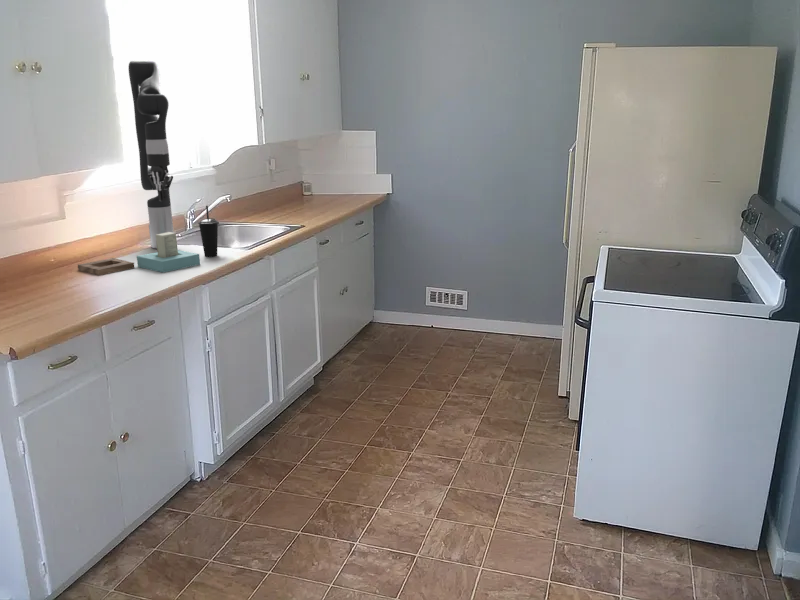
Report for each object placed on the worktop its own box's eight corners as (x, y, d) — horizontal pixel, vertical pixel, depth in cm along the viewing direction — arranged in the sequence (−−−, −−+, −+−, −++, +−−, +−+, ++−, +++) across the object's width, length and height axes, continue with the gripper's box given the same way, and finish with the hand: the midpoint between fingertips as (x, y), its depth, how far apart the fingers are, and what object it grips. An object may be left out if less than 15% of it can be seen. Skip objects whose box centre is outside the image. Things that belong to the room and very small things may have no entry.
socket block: (137, 266, 260) (136, 256, 259) (174, 259, 272) (173, 249, 271) (163, 272, 250) (162, 261, 249) (200, 264, 263) (199, 253, 262)
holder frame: (78, 270, 255) (77, 264, 255) (113, 263, 266) (113, 258, 266) (98, 275, 247) (98, 269, 247) (134, 268, 258) (133, 262, 257)
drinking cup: (201, 258, 272) (196, 207, 267) (201, 254, 280) (196, 204, 274) (221, 257, 274) (217, 206, 269) (220, 253, 282) (216, 203, 276)
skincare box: (172, 263, 265) (169, 231, 262) (179, 264, 262) (176, 232, 259) (158, 266, 260) (154, 234, 257) (165, 267, 258) (162, 235, 254)
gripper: (137, 152, 251) (143, 200, 256) (159, 153, 243) (164, 203, 248) (156, 151, 257) (160, 198, 261) (177, 152, 249) (182, 201, 254)
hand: (162, 200), depth 255 cm, fingers closed
